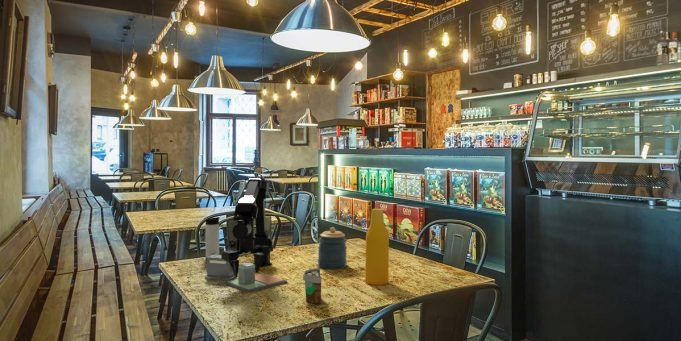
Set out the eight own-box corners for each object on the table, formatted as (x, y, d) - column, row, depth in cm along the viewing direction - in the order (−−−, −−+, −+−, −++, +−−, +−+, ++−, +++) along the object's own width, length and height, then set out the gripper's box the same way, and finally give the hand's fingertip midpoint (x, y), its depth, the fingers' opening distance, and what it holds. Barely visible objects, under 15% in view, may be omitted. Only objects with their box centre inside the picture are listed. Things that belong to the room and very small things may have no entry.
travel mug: (216, 260, 219) (216, 218, 218) (203, 259, 221) (203, 217, 220) (222, 257, 225) (221, 216, 225) (209, 256, 227) (209, 215, 226)
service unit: (213, 274, 195) (213, 254, 194) (237, 276, 192) (237, 255, 192) (204, 278, 188) (204, 257, 188) (229, 280, 185) (229, 259, 185)
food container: (302, 295, 167) (302, 268, 166) (319, 295, 167) (319, 267, 167) (302, 307, 155) (302, 277, 154) (321, 306, 155) (321, 277, 155)
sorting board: (262, 275, 194) (262, 272, 194) (287, 282, 183) (287, 280, 183) (224, 283, 181) (224, 281, 181) (248, 292, 170) (248, 289, 170)
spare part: (248, 280, 182) (248, 262, 181) (255, 282, 179) (255, 264, 178) (238, 282, 178) (238, 264, 178) (245, 285, 175) (244, 266, 175)
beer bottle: (361, 280, 187) (362, 208, 186) (382, 278, 191) (383, 207, 189) (370, 286, 179) (371, 211, 178) (392, 284, 182) (393, 210, 181)
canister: (314, 268, 206) (314, 228, 205) (322, 261, 218) (322, 224, 218) (343, 270, 203) (343, 230, 202) (349, 263, 215) (349, 225, 215)
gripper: (254, 229, 190) (254, 266, 191) (213, 234, 177) (213, 275, 177) (270, 232, 182) (270, 271, 183) (229, 238, 169) (229, 281, 170)
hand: (246, 274), depth 178 cm, fingers open, 9 cm apart
